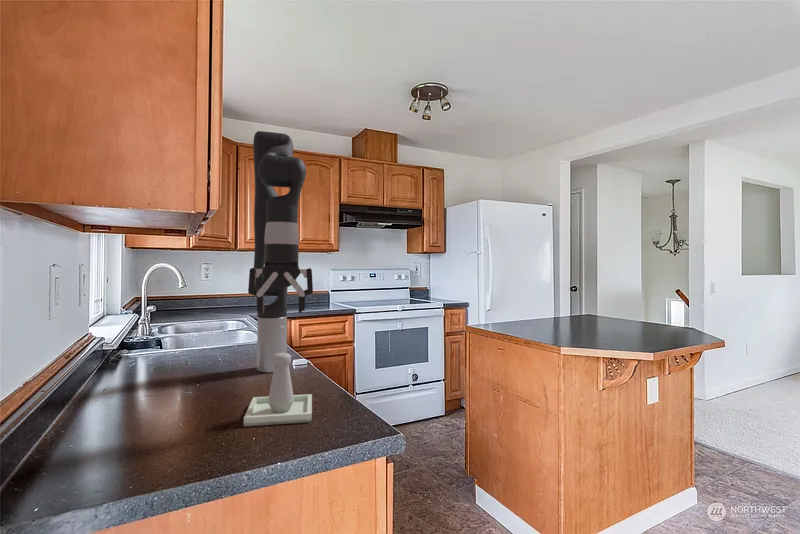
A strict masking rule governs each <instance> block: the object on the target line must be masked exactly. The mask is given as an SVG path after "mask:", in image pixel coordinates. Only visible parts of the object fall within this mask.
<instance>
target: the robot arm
mask: <svg viewBox="0 0 800 534" xmlns="http://www.w3.org/2000/svg"><path fill="white" fill-rule="evenodd" d="M252 143H253V147H252V148H253V167H254V168H253V170H254V207H253V209H254V210H253V211H254V212H253V217H254V218H253V226H254V227H253V229H254V230H253V232H254V257H253V258H254V259H253V267H252V268H250V269H249V276H248V287H247V288H248V289H247V291H248V294H249V295H252V296H255V297H256V310H257V319H256V321H257V336H256V337H257V338H256V339H257V341H256V343H257V344H256V346H257V347H256V371H258V372H261V373H273V372H274V366H275V365H274V364H272V357H273V355H274V354H277V353H288V352H287V351H288V350H287V345H288V343H287V341H288V336H287V332H288V330H287V328H288V325H287V324H288V321H287V319H288V313H287V312H288V309H287V308H288V304H287V303H288V302H287V301H288V288H289V287H291V286H292V287H293V288H294V290H295V291H296V292H297V294H298V314H302V313H303V311H305V309H306V297H307V296H309V295H312V294H313V292H314V286H313V285H314V284H313V271H312V268H311V267H310V268H309V267H308V268H305V269H303V268H300V267H299V245H300V244H299V242H300V241H299V239H300V237H299V227H298V226H299V225H298V220H299V219H298V218H299V217H298V214H299V213H298V212H299V202H300V201H299V200H300V196H301V191H302V189H303V186H304V183H305V179H306V174H307V167H306V165H305V162H304V161H303V160H302V159H301V158H299V157H295V156H294V144H293V139H292V138H291V137H290V135H289V134H286V133H281V132H272V131H264V130H258V131H256V132H255V134H254V136H253V142H252ZM275 187H276V188H289V191H288V192H287V193H286V194H283V195H279V194H278V192H277V191H276V190H275ZM300 274H302V276H303V278H305V279H306V285H307V288H306V289H303V288H302V287H301V285H300V284H299V283H298V281H297V278H298V277H299V276H300ZM274 296H276V299H275V300H274V301H273V302H271V303H269V304H266V305H265V297H274Z"/></svg>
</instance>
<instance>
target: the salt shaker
mask: <svg viewBox="0 0 800 534" xmlns="http://www.w3.org/2000/svg"><path fill="white" fill-rule="evenodd" d="M291 363H292V355H291V354H290V353H288V352H287V353H277V354H274V355H273V357H272V364H274V365H275V366H274V372H272V377H271V384H270V388H269V389H270V390H269V394H268V396H269V398H268V404H269V405H270V407H271V409H272V411H273V412H274V413H283V412H288V411H289V410H290V408H291V406H292V404H293V402H294V395H295V394H294V390H293V384H292V377H291V372H290V364H291Z"/></svg>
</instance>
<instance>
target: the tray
mask: <svg viewBox="0 0 800 534" xmlns="http://www.w3.org/2000/svg"><path fill="white" fill-rule="evenodd" d="M293 395H294V402H293V404H292V406H291V408H290V410H289V411H288V412H283V413H274V412H273V411H272V409H271V407H270V405H269V404H268V398H269V395H268V396H253V397H252V399H251V401H250V404H249V406H248V408H247V409H246V413H245V415H244V416H243V427H253V426H254V427H255V426H256V427H257V426H267V425H268V426H269V425H273V426H274V425H285V424H286V425H287V424H300V423H302V424H303V423H312V417H313V416H312V415H313V393H311V394H310V393H307V394H293Z"/></svg>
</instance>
